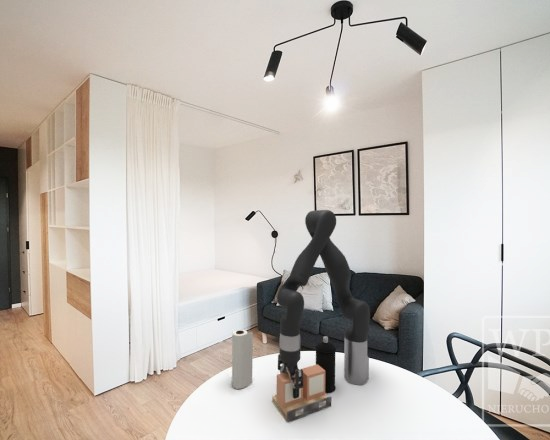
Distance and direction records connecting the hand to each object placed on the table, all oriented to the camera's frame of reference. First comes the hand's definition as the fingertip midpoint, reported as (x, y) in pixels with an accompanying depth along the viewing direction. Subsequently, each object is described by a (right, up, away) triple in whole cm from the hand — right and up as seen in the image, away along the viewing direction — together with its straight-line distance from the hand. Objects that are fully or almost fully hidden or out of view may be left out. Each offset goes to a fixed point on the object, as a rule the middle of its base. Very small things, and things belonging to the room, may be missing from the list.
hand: (289, 390), depth 98 cm
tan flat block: (+4, -6, +2) cm, 7 cm away
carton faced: (+9, -4, +4) cm, 10 cm away
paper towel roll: (-19, -6, +12) cm, 23 cm away
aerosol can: (+15, -6, +11) cm, 20 cm away
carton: (0, -4, 0) cm, 4 cm away
